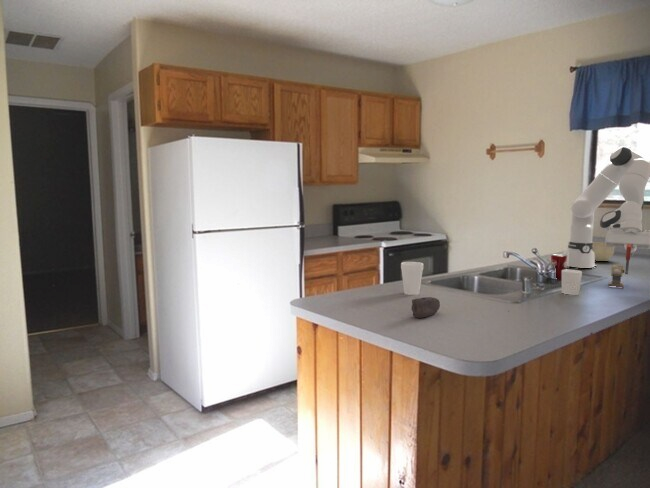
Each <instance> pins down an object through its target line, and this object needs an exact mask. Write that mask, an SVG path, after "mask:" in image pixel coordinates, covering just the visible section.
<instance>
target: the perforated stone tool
mask: <svg viewBox="0 0 650 488" xmlns="http://www.w3.org/2000/svg"><path fill="white" fill-rule="evenodd" d="M411 303H412V304H411V308H410V309H411V311H412V316H413V317H415V318H417V319H422V318H426V317H430V316H432V315H435V314H436V313H437V312H438V311H439V309H440V307H441V303H440V300H439V299H437V298H435V297H433V296H432V297H431V296H427V297H425V296H424V297H420V298H414V299H412V300H411Z"/></svg>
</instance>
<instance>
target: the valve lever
mask: <svg viewBox="0 0 650 488" xmlns="http://www.w3.org/2000/svg"><path fill="white" fill-rule="evenodd" d="M631 250H632V248H631V244H627V250H626V251H625V252H626V253H625V261H626V262H625V269H624V275H629V267H630V266H629V264H630V260H631V256H632V255H631Z"/></svg>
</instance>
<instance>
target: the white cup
mask: <svg viewBox="0 0 650 488" xmlns="http://www.w3.org/2000/svg"><path fill="white" fill-rule="evenodd" d="M582 276H583V271H582V270H578V269H569V268H568V269H567V268H566V269H565V270H562V280H561V294H562V293H564V294H563V295H565V294H573V295H574V294H579V295H580V291H581V290H580V289H581V284H582V278H583V277H582Z"/></svg>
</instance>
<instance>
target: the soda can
mask: <svg viewBox="0 0 650 488" xmlns="http://www.w3.org/2000/svg"><path fill="white" fill-rule="evenodd" d="M550 263H551V264H553V265H554V266H555V268H556V278H557V280H556V281H562V270H565V269H567V268H568V267H567V256H566V255H564V254H562V253H551V255H550Z"/></svg>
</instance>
